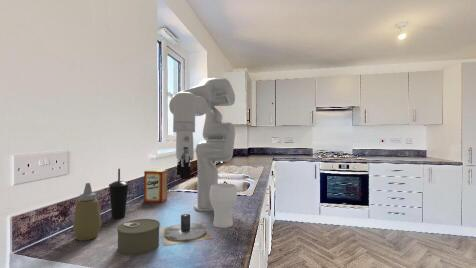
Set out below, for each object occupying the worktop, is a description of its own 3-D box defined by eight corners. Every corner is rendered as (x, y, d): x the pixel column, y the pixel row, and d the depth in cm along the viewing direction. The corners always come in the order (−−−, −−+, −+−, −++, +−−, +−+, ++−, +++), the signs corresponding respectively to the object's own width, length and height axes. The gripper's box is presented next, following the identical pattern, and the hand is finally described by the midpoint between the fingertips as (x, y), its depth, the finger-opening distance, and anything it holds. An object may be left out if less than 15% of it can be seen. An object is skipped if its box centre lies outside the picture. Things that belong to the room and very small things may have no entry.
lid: (200, 223, 97) (200, 208, 97) (210, 237, 84) (210, 219, 84) (162, 228, 92) (162, 211, 92) (166, 243, 79) (166, 224, 79)
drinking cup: (120, 220, 101) (121, 170, 101) (104, 218, 102) (104, 169, 103) (132, 214, 108) (132, 167, 108) (116, 213, 110) (117, 167, 110)
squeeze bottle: (81, 233, 88) (81, 181, 88) (105, 232, 88) (105, 180, 88) (67, 243, 79) (68, 185, 80) (94, 242, 80) (94, 185, 80)
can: (141, 260, 69) (142, 235, 69) (107, 253, 73) (107, 229, 73) (167, 242, 80) (167, 221, 80) (136, 237, 84) (136, 217, 84)
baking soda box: (167, 199, 134) (167, 169, 134) (161, 202, 128) (161, 171, 128) (150, 198, 136) (150, 168, 136) (144, 201, 129) (144, 170, 129)
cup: (240, 222, 100) (241, 184, 100) (231, 231, 90) (231, 189, 90) (216, 219, 104) (216, 182, 104) (204, 227, 93) (204, 187, 94)
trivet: (202, 223, 98) (202, 222, 98) (214, 239, 83) (214, 238, 83) (159, 228, 92) (159, 227, 92) (163, 246, 77) (163, 245, 77)
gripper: (199, 127, 82) (198, 180, 82) (190, 129, 98) (189, 173, 98) (176, 126, 79) (175, 181, 79) (170, 128, 96) (169, 174, 95)
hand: (183, 176), depth 88 cm, fingers open, 9 cm apart
